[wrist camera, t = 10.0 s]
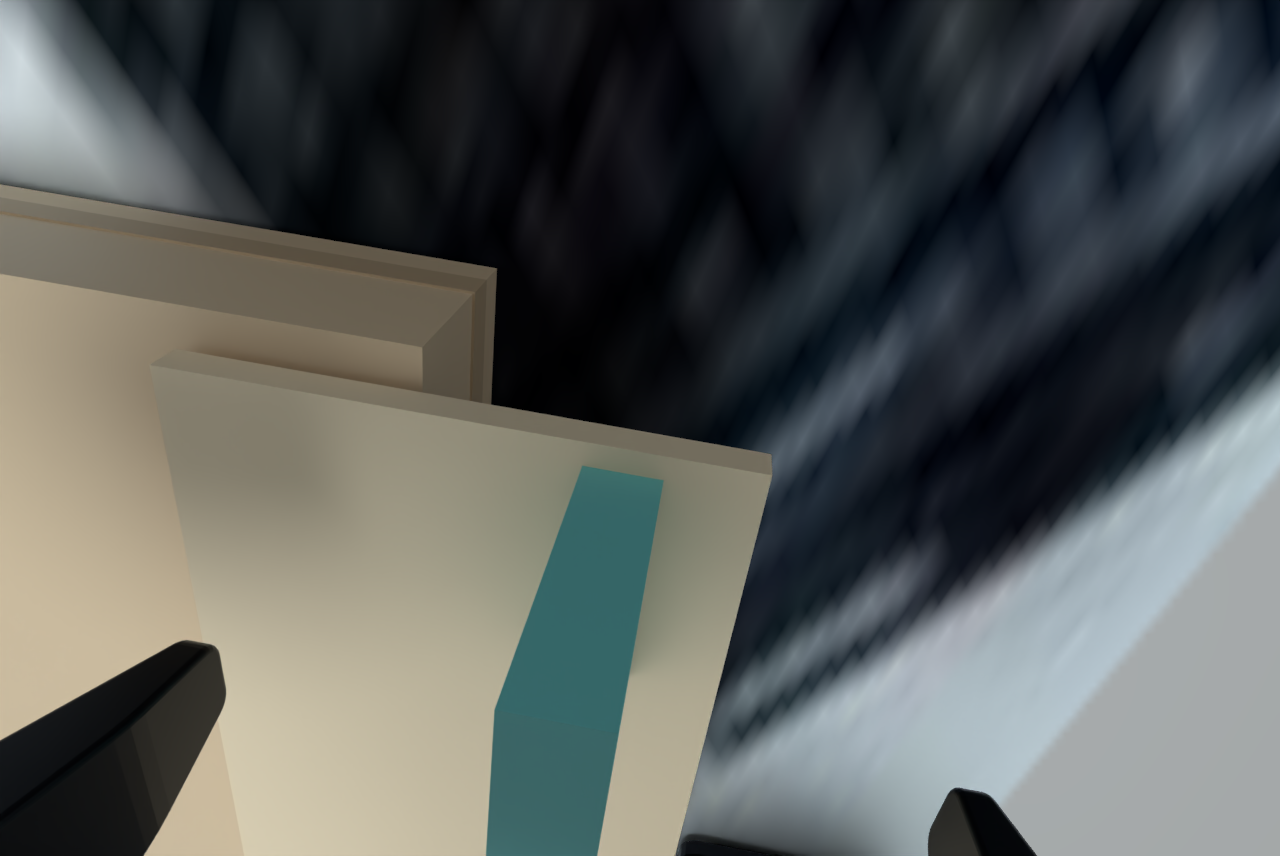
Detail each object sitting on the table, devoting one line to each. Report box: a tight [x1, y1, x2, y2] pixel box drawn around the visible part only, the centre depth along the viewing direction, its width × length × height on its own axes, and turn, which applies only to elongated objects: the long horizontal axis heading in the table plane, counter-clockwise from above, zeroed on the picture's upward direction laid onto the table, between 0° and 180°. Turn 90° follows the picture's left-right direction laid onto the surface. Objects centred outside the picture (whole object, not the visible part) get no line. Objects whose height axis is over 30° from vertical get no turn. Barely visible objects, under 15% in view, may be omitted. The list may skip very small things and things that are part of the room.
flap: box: [149, 349, 772, 856], centre depth 13 cm, size 9×15×5 cm, turn 173°
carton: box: [0, 184, 497, 856], centre depth 18 cm, size 20×16×4 cm
